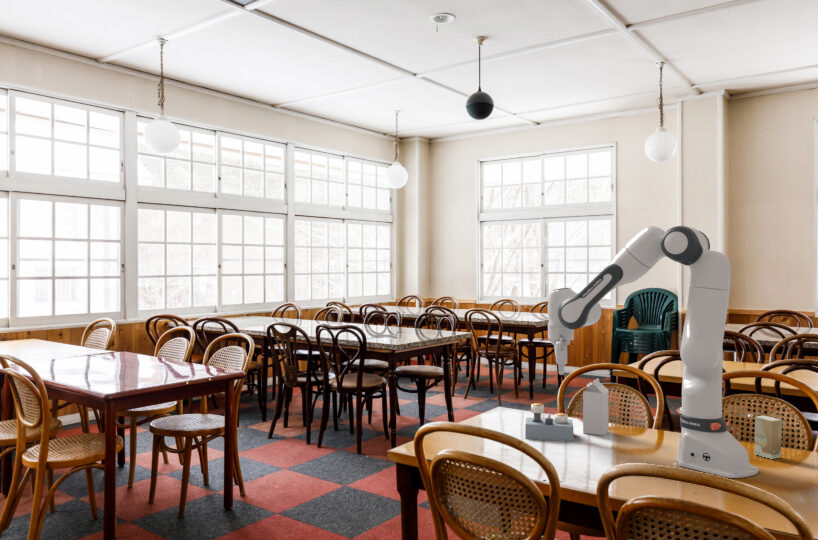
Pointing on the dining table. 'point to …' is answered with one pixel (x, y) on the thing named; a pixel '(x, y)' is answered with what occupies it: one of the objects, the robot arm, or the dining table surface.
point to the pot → (549, 420)
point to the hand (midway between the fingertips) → (561, 374)
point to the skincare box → (768, 437)
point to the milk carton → (595, 409)
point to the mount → (548, 430)
